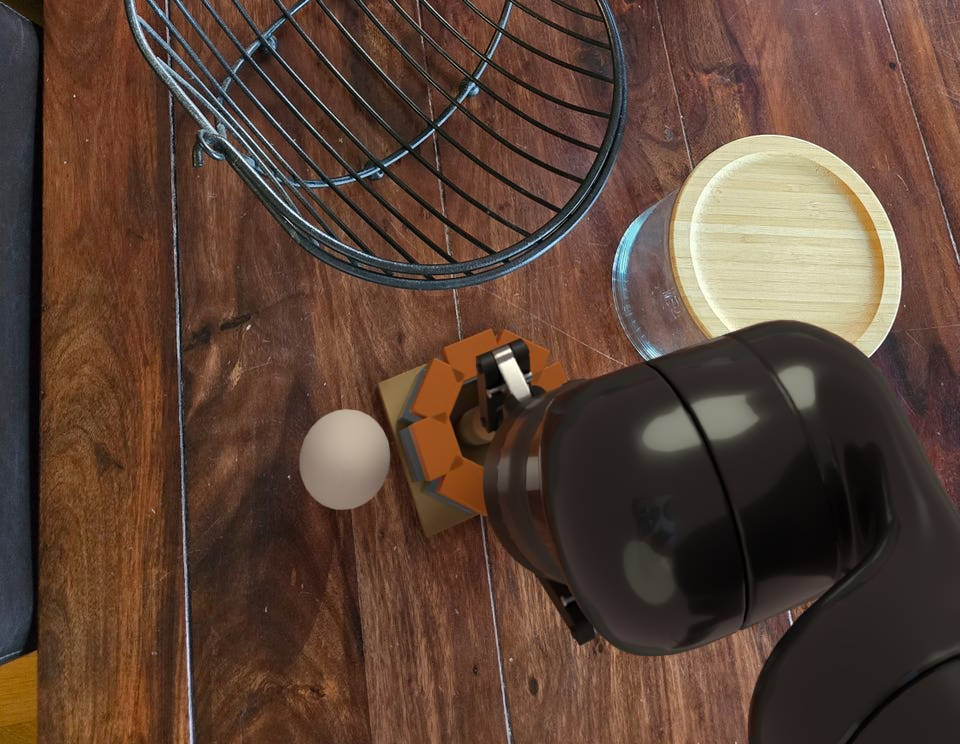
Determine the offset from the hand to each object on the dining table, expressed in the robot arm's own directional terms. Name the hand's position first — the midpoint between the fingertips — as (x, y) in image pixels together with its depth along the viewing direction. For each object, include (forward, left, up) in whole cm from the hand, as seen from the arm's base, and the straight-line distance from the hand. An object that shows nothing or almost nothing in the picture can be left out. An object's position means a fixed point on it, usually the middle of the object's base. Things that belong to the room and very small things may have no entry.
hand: (514, 485), depth 62 cm
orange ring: (+3, 0, 0) cm, 3 cm away
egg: (+5, +8, -10) cm, 13 cm away
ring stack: (+3, 0, -10) cm, 10 cm away
